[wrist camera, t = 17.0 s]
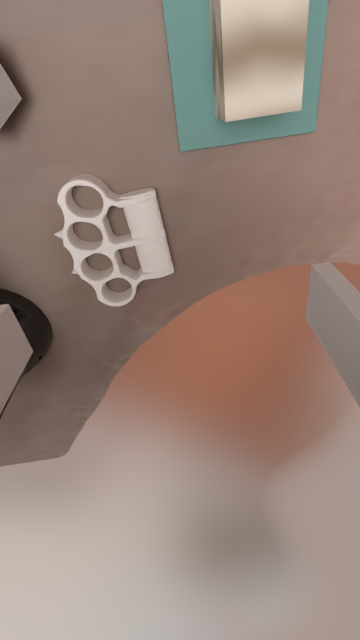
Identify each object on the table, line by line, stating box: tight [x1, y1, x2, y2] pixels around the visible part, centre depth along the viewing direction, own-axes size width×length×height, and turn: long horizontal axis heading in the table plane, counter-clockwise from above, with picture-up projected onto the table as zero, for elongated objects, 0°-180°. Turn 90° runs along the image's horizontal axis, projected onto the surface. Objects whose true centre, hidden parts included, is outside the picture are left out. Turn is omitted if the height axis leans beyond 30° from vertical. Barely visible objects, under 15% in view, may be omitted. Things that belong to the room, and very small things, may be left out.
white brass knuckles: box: [54, 174, 174, 306], centre depth 44 cm, size 3×18×15 cm
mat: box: [162, 0, 328, 152], centre depth 34 cm, size 16×16×1 cm
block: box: [209, 0, 309, 122], centre depth 30 cm, size 10×7×8 cm
